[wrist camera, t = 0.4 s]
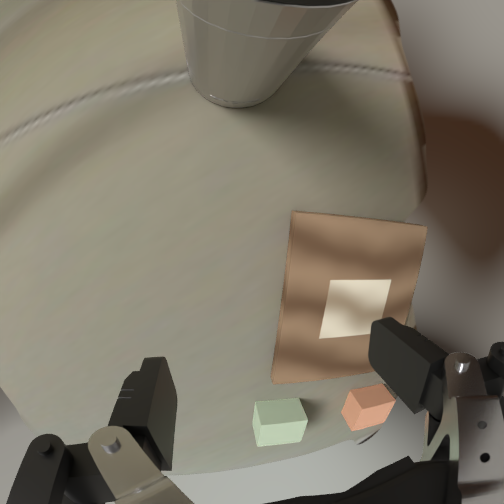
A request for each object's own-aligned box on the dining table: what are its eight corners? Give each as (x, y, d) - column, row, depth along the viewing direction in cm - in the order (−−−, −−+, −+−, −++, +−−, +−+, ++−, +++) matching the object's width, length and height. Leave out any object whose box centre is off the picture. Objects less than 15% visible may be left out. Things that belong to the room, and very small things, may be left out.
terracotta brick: (349, 389, 35) (362, 409, 31) (381, 382, 36) (395, 400, 32) (340, 411, 36) (351, 431, 32) (372, 404, 37) (384, 422, 33)
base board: (291, 210, 27) (296, 212, 25) (419, 224, 29) (428, 227, 28) (270, 376, 32) (273, 384, 30) (383, 362, 34) (389, 368, 33)
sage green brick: (255, 400, 33) (261, 425, 28) (298, 397, 34) (308, 419, 29) (252, 423, 34) (257, 446, 30) (292, 419, 35) (300, 441, 31)
